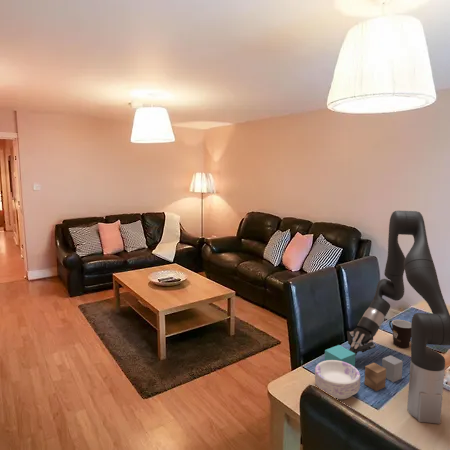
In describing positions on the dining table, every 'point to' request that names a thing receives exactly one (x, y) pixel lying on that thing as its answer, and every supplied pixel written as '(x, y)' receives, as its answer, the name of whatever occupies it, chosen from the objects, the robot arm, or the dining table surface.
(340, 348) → the teal block
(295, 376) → the dining table surface
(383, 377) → the walnut block
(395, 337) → the coffee mug
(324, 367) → the paper bowls
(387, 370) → the slate-grey block
